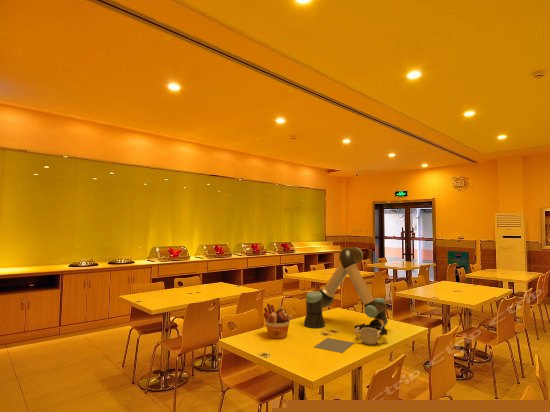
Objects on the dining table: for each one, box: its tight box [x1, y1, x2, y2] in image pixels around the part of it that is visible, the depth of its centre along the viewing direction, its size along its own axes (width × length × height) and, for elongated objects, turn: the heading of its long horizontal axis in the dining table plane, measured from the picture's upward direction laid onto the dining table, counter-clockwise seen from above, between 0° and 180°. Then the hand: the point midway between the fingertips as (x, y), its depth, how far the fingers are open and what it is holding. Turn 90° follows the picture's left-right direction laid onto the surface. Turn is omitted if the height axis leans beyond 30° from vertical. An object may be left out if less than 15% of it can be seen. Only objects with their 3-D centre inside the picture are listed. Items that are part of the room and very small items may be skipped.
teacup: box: [354, 328, 379, 346], centre depth 207 cm, size 14×11×8 cm
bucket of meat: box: [263, 303, 293, 340], centre depth 223 cm, size 20×16×20 cm
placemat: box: [313, 337, 355, 354], centre depth 204 cm, size 18×20×1 cm
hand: (366, 333), depth 205 cm, fingers open, 13 cm apart
